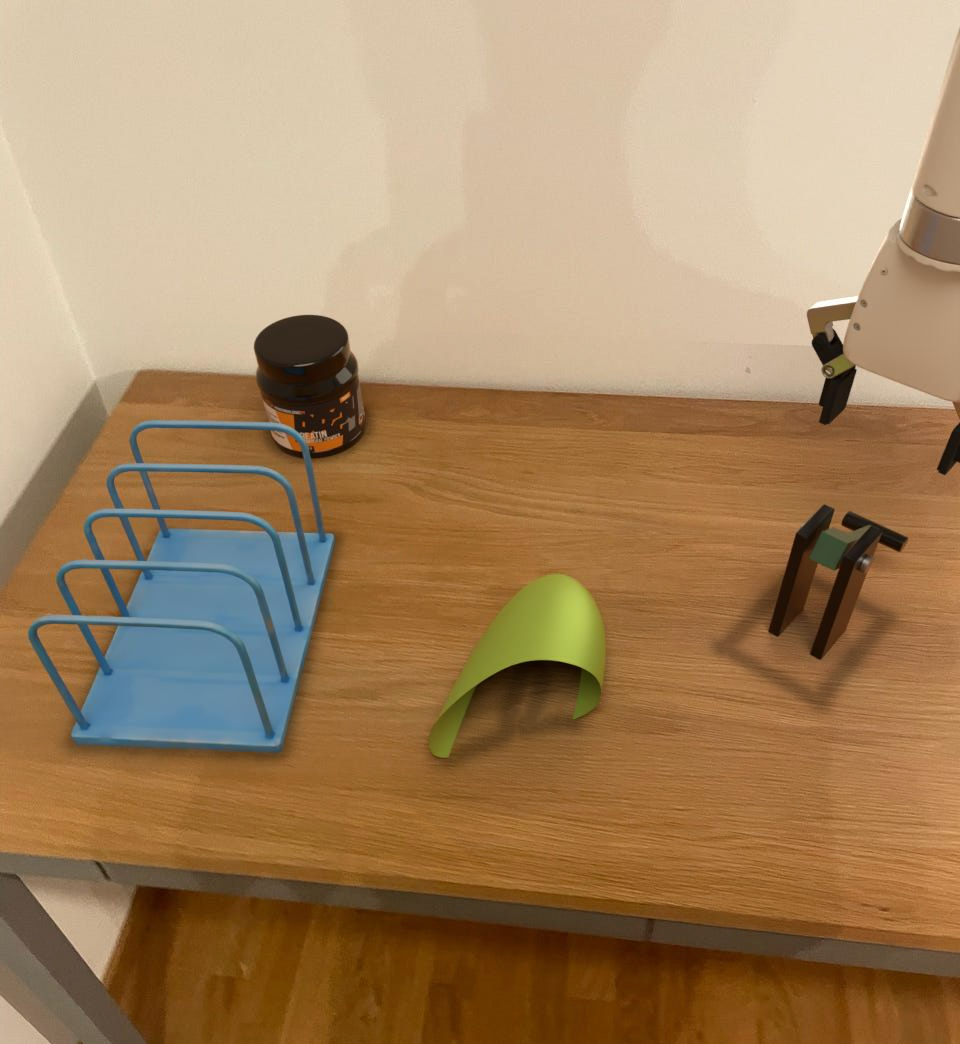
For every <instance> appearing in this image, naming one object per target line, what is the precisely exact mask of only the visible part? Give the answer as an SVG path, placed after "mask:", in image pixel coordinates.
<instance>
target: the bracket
mask: <svg viewBox="0 0 960 1044" xmlns="http://www.w3.org/2000/svg"><path fill="white" fill-rule="evenodd" d="M835 510H836V509H835V508H834V507H831V506H829V505H827V504H825V503H823V504H822V505H821V506H820V507H819V508H818V510H816V511H815V512H814V513H813V514H812V516H810V518H809V519H808V520H807V521H806V522H805V523H804V524H802V525H800V526H799V528H798V529H797V531H796V532H795V535H794V538H793V543H792V545H791V549H790V552H789V553H790V554H789V556H788V559H787V564H786V566H785V570H784V574H783V576H782V581H781V585H780V588H779V590H778V591H779V592H778V595H777V598H776V603H775V606H774V608H773V612H772V616H771V619H770V624H769V628H768V631H767V632H768V633H769V634H771V635H773V636H775V637H777V638H778V637H780V636H781V635H782V634H783V632H784V631H785V630H786V629H787V628H788V627H789V626H790V624H791V623H792V622H793V621H794V620H795V619H796V618H797V617H798V616H799V614H800V613H801V612H802V611H803V610H804V608H805V605H806V602H807V599H808V596H809V593H810V589H811V587H812V582H813V580H814V576H815V574H816V570H817V568H818V564H819V563H817V562H815V561H813V560H811V559H809V557H810V555H811V553H812V551H813V549H814V546H815V544H816V542H817V540H818V538H819V536H820V534H821V532H822V531H824V530H827V529H830V526H831V524H832V520H833V517H834V514H835ZM882 532H883V531H882V530H880V529H878V528H876V527H874V526H870V527H869V528H868V529H867V530H866V531H865V533H864V534H863V535H862V536H861V537H860V538H859V539H858V540H857V542H856V543H855V544H854V545H853V546H852V547H851V548H850V549H849V550H848V552H847V553H846V554H845V555H844V556H843V559H842V562H841V565H840V568H839V569H838V571H837V574H836V577H835V579H834V583H833V586H832V588H831V591H830V594H829V596H828V600H827V603H826V606H825V609H824V611H823V615H822V618H821V620H820V623H819V627H818V630H817V632H816V635H815V638H814V641H813V644H812V647H811V649H810V653H809V655H810V656H812V657H814V658H815V659H817V660H819V661H821V660H822V659H823V658H824V657H825V655H826V654H827V653H828V652H829V651H830V650H831V648H832V647H833V646H834V645H835V644H836V642H837V641H838V640H839V639H840V638H841V636H843V634H844V633H845V632H846V631H847V628H848V626H849V622H850V620H851V617H852V615H853V612H854V609H855V607H856V604H857V601H858V598H859V596H860V593H861V591H862V588H863V586H864V582H865V580H866V577H867V574H868V572H869V570H870V569H871V567H872V565H873V563H874V561H875V557H874V556H875V553H876V550H877V548H878V544H880V543H879V540H880V537H881V535H882Z"/></svg>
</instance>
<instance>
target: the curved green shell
mask: <svg viewBox="0 0 960 1044" xmlns="http://www.w3.org/2000/svg"><path fill="white" fill-rule="evenodd" d="M598 606H599V605H598V604H597V602H596V601H595V599H594V597H593V596H592V595H591V592H590V591H589V590H588V589H587V588H586V587H585V586H584V585H583V584H582V583H581V582H579V581H578V580H577V579H575V578H573V577H571V576H569V575H567V574H562V573H551V574H550V573H549V574H547V575H543V576H540V577H537V578H536V579H534V580H532V581H531V582H529V583H527V584H526V585H525V586H523V587H522V588H520V590H519V591H517V592H516V593H515V594H514V595H513V596H512V597H511V598H510V599H509V600H508V601H507V602H506V603H505V604H504V605H503V607H502V608H501V609H500V610H499V612H498V613H497V614H496V615H495V617H494V618H493V619H492V621H491V622H490V624H489V625H488V626H487V628H486V629H485V631H484V632H483V634H482V635H481V636H480V639H479V640H478V642H477V643H476V645H475V646H474V648H473V650H472V651H471V653H470V654H469V656H468V659H467V660H466V663H465V664H464V665H463V668H462V669H461V671H460V673H459V675H458V677H457V679H456V680H455V683H454V685H453V686H452V688H451V690H450V692H449V694H448V696H447V698H446V700H445V702H444V704H443V706H442V708H441V710H440V712H439V714H438V716H437V718H436V720H435V722H434V724H433V726H432V728H431V730H430V732H429V735H428V741H427V743H428V748H429V751H430V753H431V754H432V756H435V757H437V758H444V759H446V758H449V757H450V753H451V751H452V749H453V746H454V743H455V740H456V738H457V735H458V732H459V730H460V727H461V724H462V722H463V720H464V717H465V715H466V713H467V710H468V707H469V704H470V702H471V700H472V697H473V694H474V692H475V690H476V688H477V686H478V685H479V684H480V683H481V682H483V681H485V680H486V679H488V678H489V677H491V676H493V675H495V674H496V673H499V672H501V671H502V670H504V669H506V668H509V667H511V666H514V665H517V664H521V663H526V662H530V661H531V662H532V661H553V662H561V663H566V664H569V665H573V666H576V667H579V668H581V672H580V679H579V680H580V681H579V686H578V691H577V698H576V702H575V706H574V711H573V716H572V721H574V720H576V719H578V718H581V717H583V716H585V715H587V714H588V713H590V712H591V711H592V710H594V709H595V708H596V707H597V706H598V704H599V703H600V700H601V698H602V693H603V685H604V680H605V674H606V673H605V672H606V662H607V637H606V636H607V634H606V629H605V624H604V621H603V617H602V614H601V611H600V608H599V607H598Z"/></svg>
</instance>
